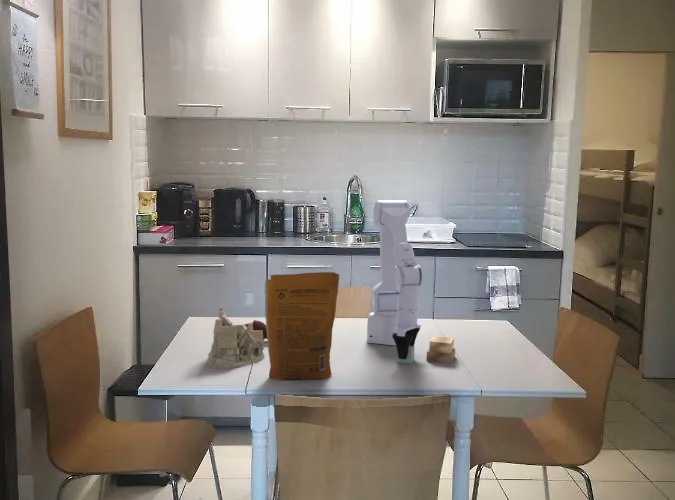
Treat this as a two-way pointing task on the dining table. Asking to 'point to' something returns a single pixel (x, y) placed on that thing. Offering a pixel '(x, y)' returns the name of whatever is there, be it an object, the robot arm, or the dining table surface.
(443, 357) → the tower base
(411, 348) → the teal cube
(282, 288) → the pancake mix bag
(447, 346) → the tower top
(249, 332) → the ceramic cottage
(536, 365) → the dining table surface
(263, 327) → the icecream
